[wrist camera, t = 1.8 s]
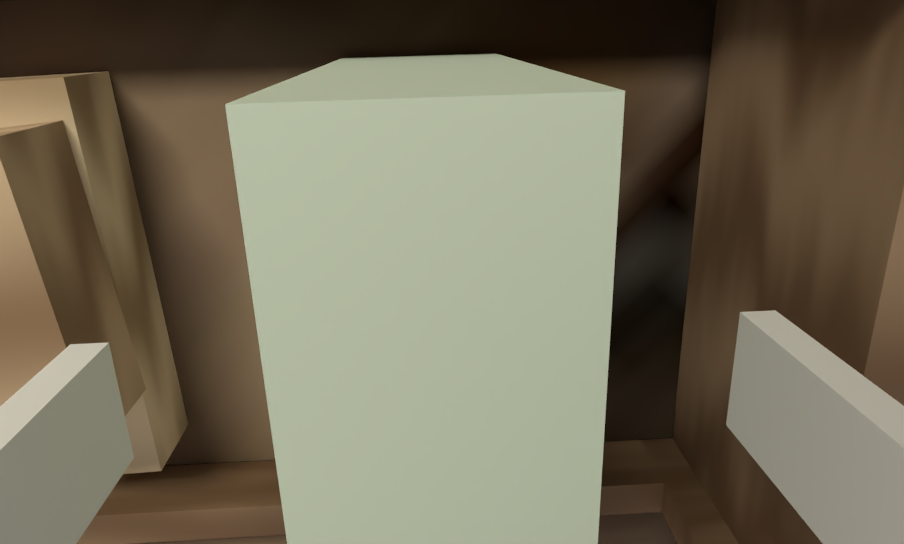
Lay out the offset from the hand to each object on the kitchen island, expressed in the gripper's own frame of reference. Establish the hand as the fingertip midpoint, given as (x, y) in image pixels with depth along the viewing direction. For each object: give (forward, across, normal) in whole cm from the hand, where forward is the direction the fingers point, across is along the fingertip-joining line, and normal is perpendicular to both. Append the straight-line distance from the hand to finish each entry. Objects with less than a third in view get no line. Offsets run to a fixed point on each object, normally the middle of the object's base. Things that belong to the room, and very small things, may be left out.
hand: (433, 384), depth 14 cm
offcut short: (+6, -10, +1) cm, 12 cm away
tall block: (+8, 0, 0) cm, 8 cm away
